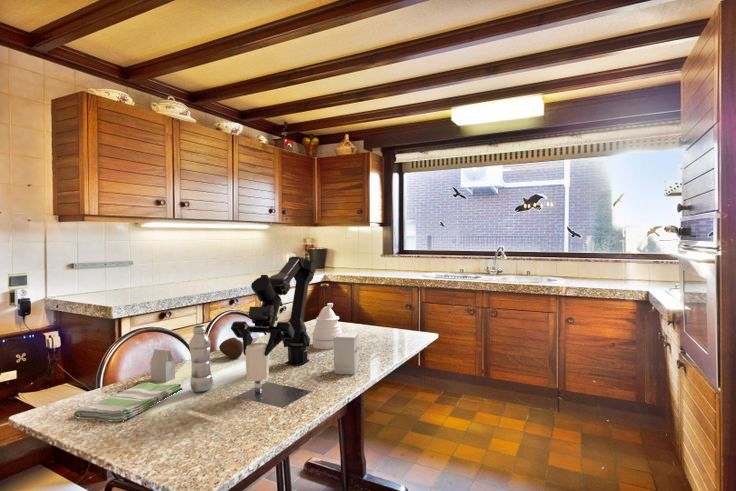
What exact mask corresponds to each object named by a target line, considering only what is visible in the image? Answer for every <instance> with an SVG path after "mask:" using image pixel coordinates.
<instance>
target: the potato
mask: <svg viewBox="0 0 736 491" xmlns="http://www.w3.org/2000/svg"><path fill="white" fill-rule="evenodd" d="M218 349H219V351H220V352H221V353H222V354H223V355H224V356H225V357H228V358H230V359H238V358H240V357H241V355H243V341H241V340H239V338H237V337H229V338H227V339H225V340H224V341H222V342H221V343H220V344H219V345H218Z"/></svg>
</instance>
